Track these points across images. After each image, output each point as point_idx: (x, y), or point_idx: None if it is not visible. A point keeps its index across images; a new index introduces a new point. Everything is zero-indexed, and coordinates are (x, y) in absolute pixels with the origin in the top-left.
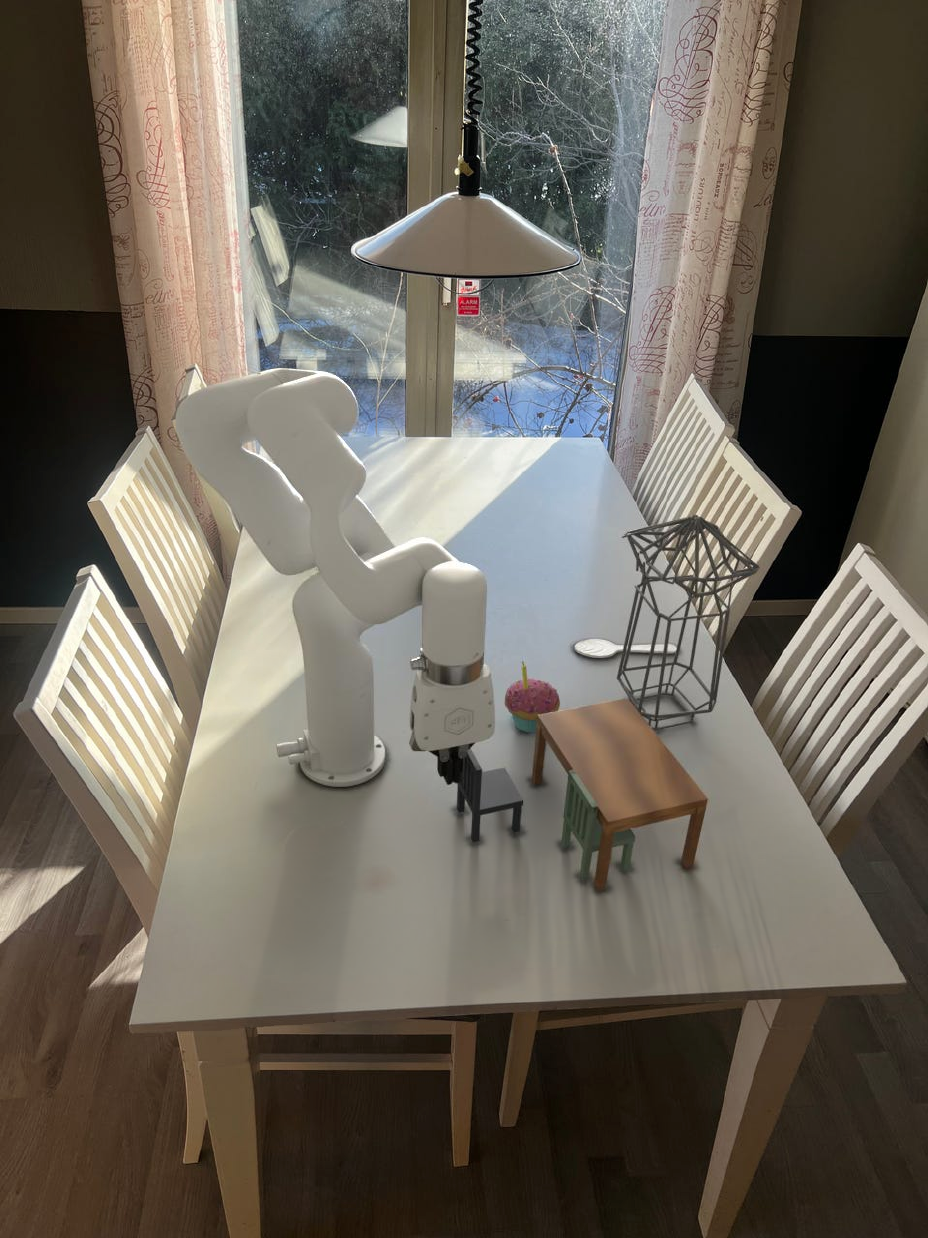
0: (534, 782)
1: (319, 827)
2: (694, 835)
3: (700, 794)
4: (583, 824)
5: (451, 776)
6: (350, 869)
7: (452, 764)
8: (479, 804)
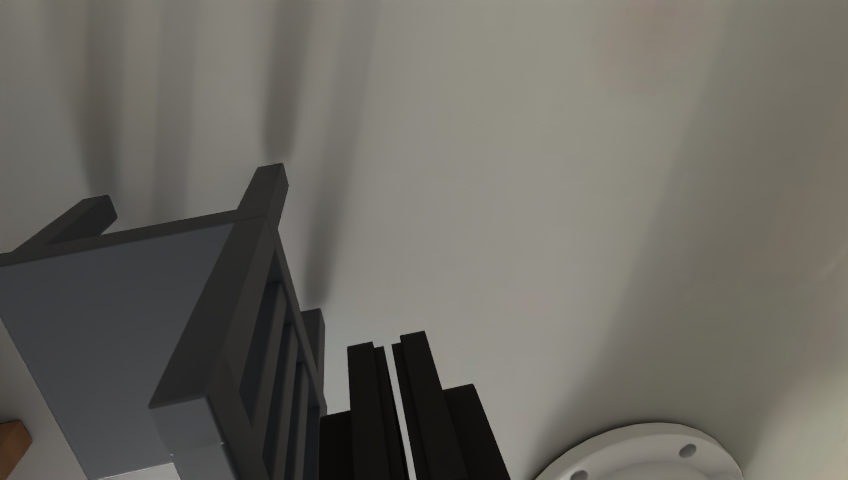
0: (13, 430)
1: (753, 280)
2: None
3: None
4: None
5: (411, 375)
6: (722, 93)
7: (421, 461)
8: (231, 235)
